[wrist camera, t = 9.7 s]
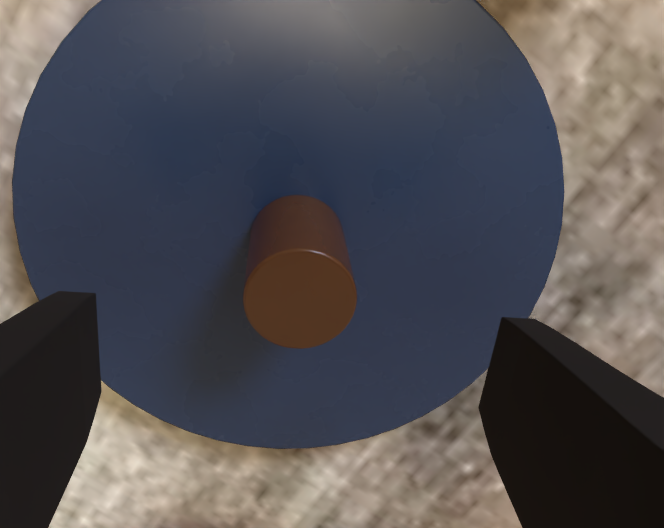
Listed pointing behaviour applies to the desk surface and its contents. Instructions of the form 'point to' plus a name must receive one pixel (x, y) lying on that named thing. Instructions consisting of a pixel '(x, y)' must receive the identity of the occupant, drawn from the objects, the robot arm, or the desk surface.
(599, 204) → the desk surface
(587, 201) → the desk surface
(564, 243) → the desk surface
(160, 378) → the pot lid
